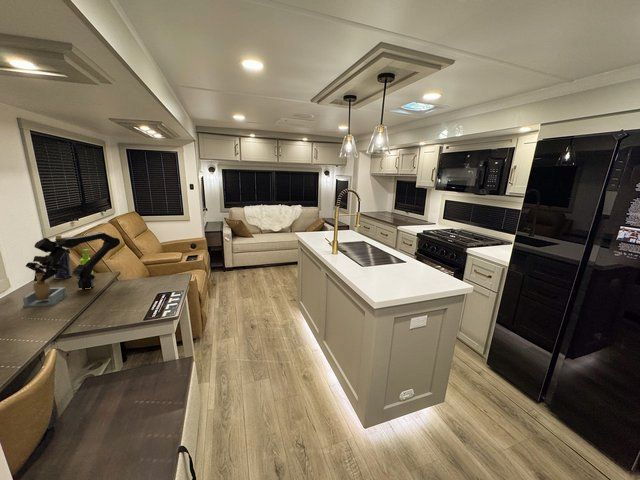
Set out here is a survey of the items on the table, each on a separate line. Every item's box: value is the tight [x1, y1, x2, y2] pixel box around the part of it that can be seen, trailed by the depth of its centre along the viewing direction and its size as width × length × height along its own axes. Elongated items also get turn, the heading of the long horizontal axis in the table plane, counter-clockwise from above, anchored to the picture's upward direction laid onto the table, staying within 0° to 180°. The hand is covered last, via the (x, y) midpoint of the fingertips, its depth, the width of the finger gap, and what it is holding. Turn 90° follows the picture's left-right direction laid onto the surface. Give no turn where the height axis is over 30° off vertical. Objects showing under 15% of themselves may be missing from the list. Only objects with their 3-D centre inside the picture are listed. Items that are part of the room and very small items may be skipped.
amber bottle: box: [32, 272, 51, 301], centre depth 144 cm, size 6×6×15 cm
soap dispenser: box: [79, 248, 94, 275], centre depth 185 cm, size 6×7×20 cm
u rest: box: [22, 287, 67, 308], centre depth 147 cm, size 12×13×6 cm
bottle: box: [53, 234, 73, 279], centre depth 179 cm, size 9×9×30 cm
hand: (38, 281), depth 142 cm, fingers closed on amber bottle, 3 cm apart
